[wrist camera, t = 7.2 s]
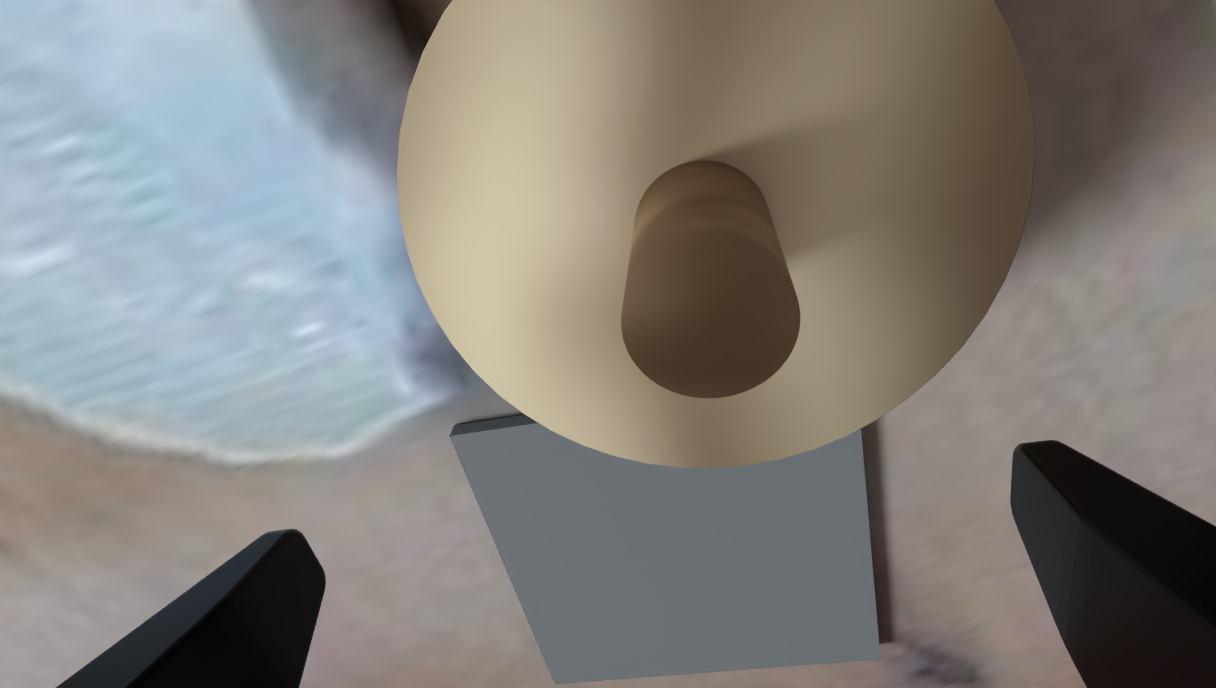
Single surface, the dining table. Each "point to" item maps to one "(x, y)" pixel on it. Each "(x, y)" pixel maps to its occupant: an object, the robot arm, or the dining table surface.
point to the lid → (713, 210)
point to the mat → (677, 554)
